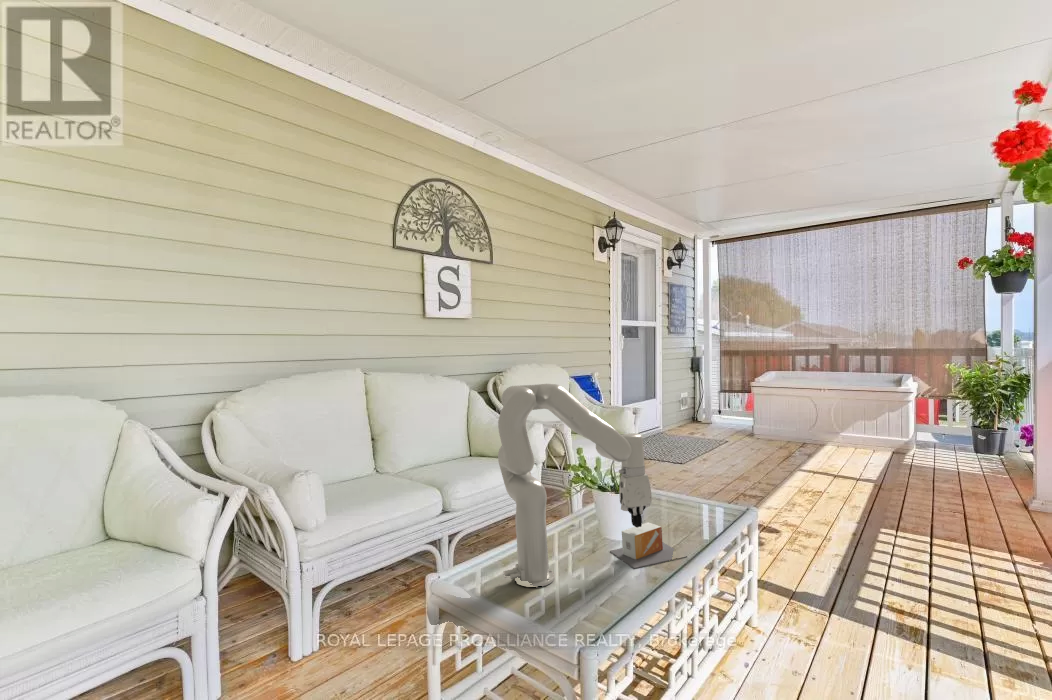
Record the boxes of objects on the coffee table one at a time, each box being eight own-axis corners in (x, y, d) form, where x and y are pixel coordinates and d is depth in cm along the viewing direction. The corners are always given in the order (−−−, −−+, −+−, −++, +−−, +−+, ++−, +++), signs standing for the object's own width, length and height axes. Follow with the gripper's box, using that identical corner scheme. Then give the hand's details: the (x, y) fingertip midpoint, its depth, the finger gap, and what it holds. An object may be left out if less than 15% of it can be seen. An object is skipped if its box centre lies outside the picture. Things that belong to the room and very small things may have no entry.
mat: (634, 569, 161) (634, 567, 161) (609, 551, 176) (609, 550, 176) (687, 557, 168) (687, 555, 168) (659, 541, 183) (659, 540, 183)
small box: (634, 535, 167) (661, 526, 174) (620, 530, 173) (647, 521, 180) (636, 560, 167) (663, 549, 174) (622, 554, 173) (649, 544, 180)
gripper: (619, 476, 164) (623, 533, 164) (659, 470, 169) (662, 525, 169) (608, 471, 171) (611, 526, 171) (646, 466, 176) (649, 519, 176)
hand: (636, 525), depth 170 cm, fingers closed
